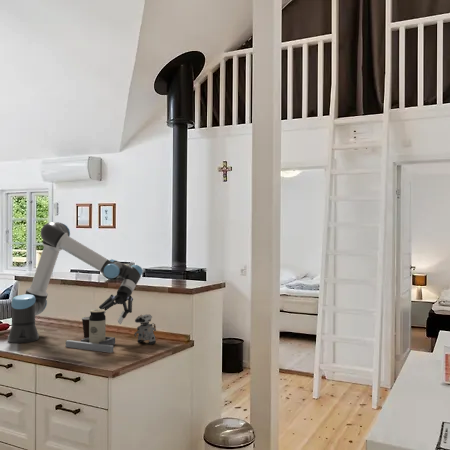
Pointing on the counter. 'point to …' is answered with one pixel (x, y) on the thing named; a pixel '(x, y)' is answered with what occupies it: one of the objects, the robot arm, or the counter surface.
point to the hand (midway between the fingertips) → (108, 321)
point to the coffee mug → (85, 326)
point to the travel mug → (97, 326)
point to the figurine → (145, 329)
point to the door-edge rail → (89, 346)
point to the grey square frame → (107, 341)
